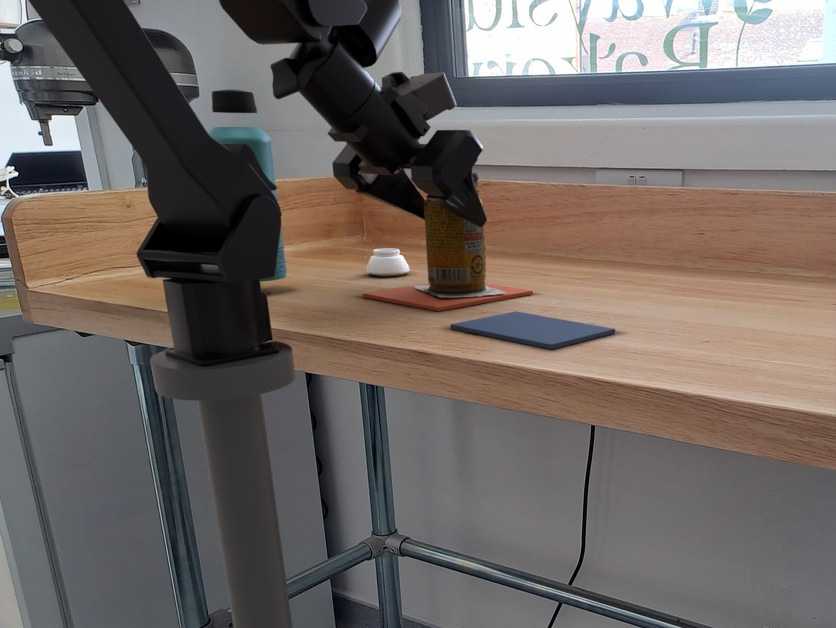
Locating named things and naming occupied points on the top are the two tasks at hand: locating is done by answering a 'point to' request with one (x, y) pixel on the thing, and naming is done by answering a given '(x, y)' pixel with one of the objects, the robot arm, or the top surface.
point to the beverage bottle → (254, 139)
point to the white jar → (387, 263)
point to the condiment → (454, 254)
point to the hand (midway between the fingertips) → (456, 220)
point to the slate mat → (533, 329)
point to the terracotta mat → (432, 302)
